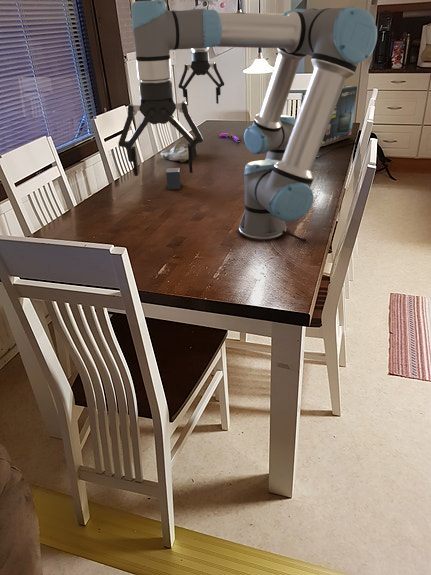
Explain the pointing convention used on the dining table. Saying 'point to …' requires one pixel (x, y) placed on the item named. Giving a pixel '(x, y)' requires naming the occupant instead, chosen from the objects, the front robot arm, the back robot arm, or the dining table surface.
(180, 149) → the fossil
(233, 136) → the handgun
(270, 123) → the back robot arm
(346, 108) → the router box
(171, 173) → the brick
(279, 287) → the dining table surface
